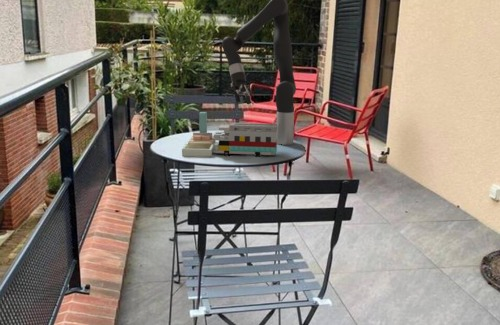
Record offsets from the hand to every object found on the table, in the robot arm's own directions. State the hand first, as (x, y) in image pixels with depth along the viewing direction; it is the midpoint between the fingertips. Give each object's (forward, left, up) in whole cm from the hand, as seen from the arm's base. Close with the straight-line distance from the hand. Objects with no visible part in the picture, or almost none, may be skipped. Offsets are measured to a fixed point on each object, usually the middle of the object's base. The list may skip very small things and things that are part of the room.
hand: (243, 103), depth 255 cm
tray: (+21, +20, -22) cm, 37 cm away
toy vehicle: (-2, +21, -23) cm, 30 cm away
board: (+21, +6, -22) cm, 31 cm away
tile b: (+23, +7, -18) cm, 30 cm away
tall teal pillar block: (+21, +1, -18) cm, 28 cm away
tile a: (+19, +7, -18) cm, 27 cm away
